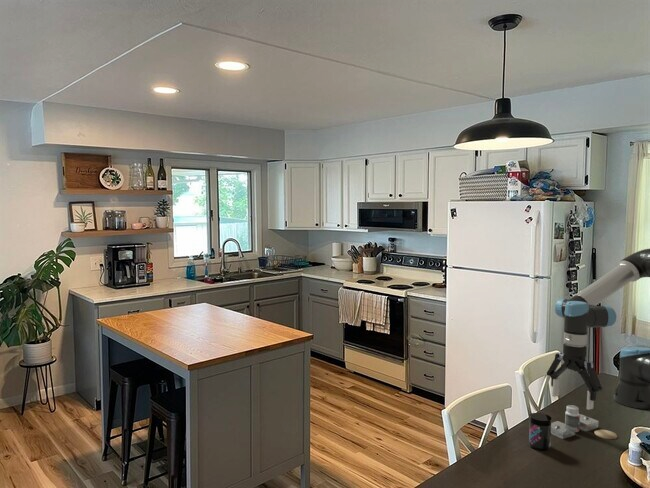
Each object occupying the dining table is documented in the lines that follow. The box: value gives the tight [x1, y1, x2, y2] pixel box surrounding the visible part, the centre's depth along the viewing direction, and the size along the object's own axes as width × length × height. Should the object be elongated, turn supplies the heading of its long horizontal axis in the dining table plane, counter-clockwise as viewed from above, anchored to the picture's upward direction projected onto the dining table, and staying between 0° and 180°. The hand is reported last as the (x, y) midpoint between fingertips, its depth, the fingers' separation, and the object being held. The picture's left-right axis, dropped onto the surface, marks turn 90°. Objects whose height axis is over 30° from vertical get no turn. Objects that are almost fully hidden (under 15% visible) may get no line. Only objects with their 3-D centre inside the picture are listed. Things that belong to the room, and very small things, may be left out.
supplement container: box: [528, 412, 552, 452], centre depth 166 cm, size 7×7×10 cm
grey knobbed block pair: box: [551, 413, 599, 440], centre depth 180 cm, size 20×7×3 cm, turn 118°
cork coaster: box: [594, 429, 618, 440], centre depth 175 cm, size 7×7×1 cm
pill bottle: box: [564, 404, 580, 433], centre depth 180 cm, size 5×5×8 cm
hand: (572, 402), depth 179 cm, fingers open, 13 cm apart
